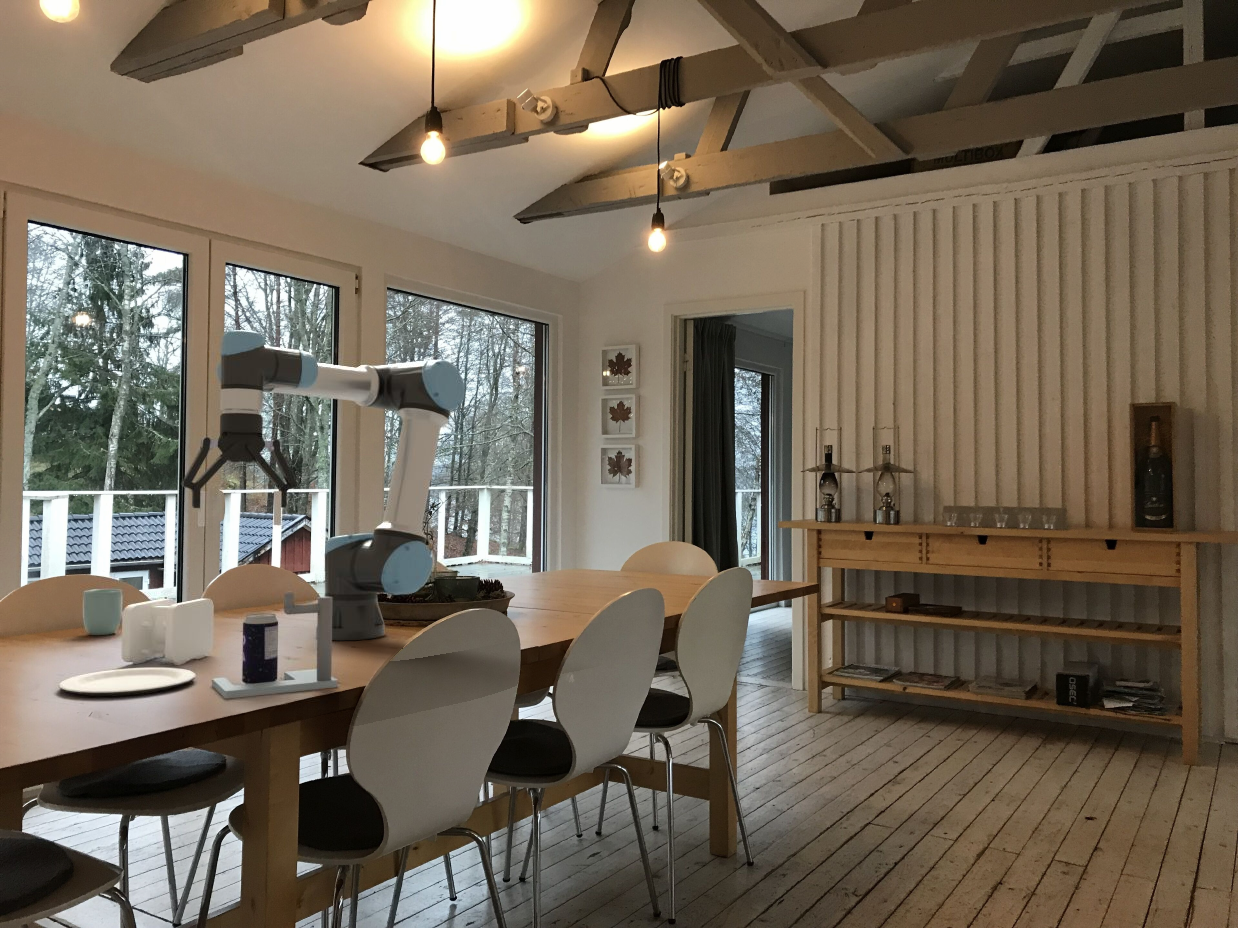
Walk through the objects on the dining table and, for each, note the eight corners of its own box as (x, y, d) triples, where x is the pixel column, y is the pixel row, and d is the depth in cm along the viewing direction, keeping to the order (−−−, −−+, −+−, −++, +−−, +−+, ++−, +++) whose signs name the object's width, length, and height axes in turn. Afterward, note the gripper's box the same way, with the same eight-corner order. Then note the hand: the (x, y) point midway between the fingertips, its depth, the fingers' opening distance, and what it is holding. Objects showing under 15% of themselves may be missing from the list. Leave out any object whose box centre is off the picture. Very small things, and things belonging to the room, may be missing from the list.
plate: (103, 675, 175) (103, 665, 175) (216, 676, 175) (217, 667, 175) (29, 700, 155) (30, 689, 155) (158, 702, 154) (158, 691, 154)
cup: (109, 636, 218) (110, 592, 218) (75, 636, 218) (76, 592, 218) (127, 631, 226) (128, 588, 226) (94, 631, 226) (95, 588, 226)
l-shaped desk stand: (318, 675, 175) (319, 583, 175) (337, 686, 165) (338, 589, 165) (211, 685, 165) (213, 588, 166) (225, 698, 155) (227, 594, 155)
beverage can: (268, 680, 170) (269, 611, 170) (283, 685, 166) (284, 615, 166) (236, 684, 166) (237, 614, 166) (250, 689, 162) (251, 617, 162)
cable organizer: (170, 668, 181) (171, 606, 181) (118, 666, 182) (119, 605, 182) (214, 655, 196) (215, 597, 196) (165, 653, 197) (166, 596, 197)
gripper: (303, 417, 193) (302, 523, 192) (166, 411, 179) (164, 526, 179) (313, 415, 186) (312, 525, 186) (172, 408, 173) (170, 527, 172)
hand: (240, 525), depth 182 cm, fingers open, 13 cm apart
